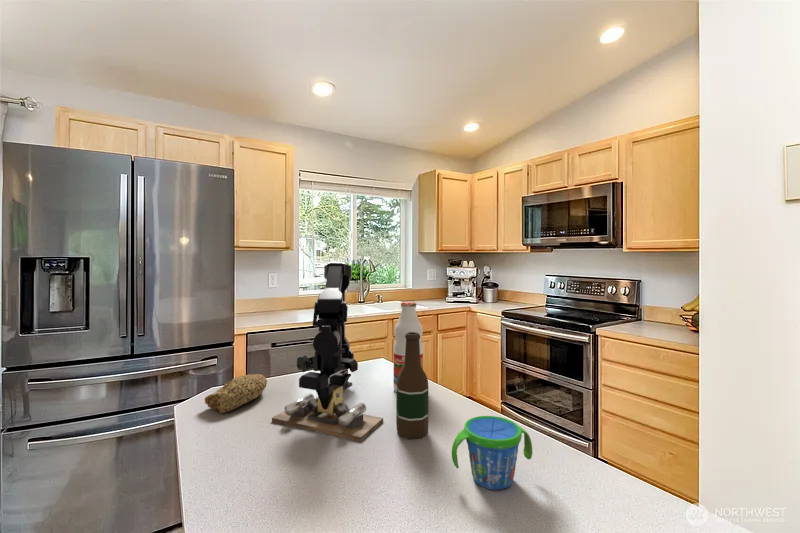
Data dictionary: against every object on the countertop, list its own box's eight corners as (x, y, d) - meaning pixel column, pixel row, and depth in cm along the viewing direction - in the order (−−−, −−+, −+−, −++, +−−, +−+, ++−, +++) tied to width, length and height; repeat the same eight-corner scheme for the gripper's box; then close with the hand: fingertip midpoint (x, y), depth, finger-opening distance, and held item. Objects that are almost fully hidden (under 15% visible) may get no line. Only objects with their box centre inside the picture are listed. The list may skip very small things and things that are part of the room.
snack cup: (458, 500, 65) (459, 442, 65) (445, 466, 76) (445, 416, 76) (545, 495, 67) (545, 438, 67) (520, 462, 77) (520, 413, 77)
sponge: (230, 422, 99) (284, 384, 116) (221, 394, 98) (276, 361, 116) (200, 420, 106) (255, 385, 123) (191, 394, 105) (248, 363, 122)
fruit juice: (425, 386, 123) (426, 301, 123) (419, 396, 114) (419, 304, 114) (398, 383, 126) (398, 300, 125) (389, 393, 117) (389, 303, 116)
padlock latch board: (300, 405, 107) (300, 393, 107) (383, 421, 96) (383, 408, 96) (271, 421, 96) (271, 408, 96) (360, 441, 86) (361, 426, 86)
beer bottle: (426, 441, 86) (426, 337, 86) (392, 438, 88) (393, 335, 87) (430, 426, 94) (430, 330, 93) (399, 424, 95) (400, 329, 95)
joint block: (343, 408, 99) (343, 385, 98) (333, 414, 94) (334, 391, 94) (326, 405, 101) (327, 382, 100) (316, 411, 96) (317, 388, 96)
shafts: (306, 404, 103) (306, 391, 103) (366, 415, 96) (366, 401, 96) (284, 416, 95) (284, 402, 95) (347, 430, 88) (347, 414, 88)
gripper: (325, 336, 109) (325, 389, 109) (280, 350, 92) (281, 414, 92) (358, 339, 105) (358, 395, 105) (318, 355, 87) (318, 422, 88)
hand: (330, 405), depth 98 cm, fingers closed on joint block, 4 cm apart
